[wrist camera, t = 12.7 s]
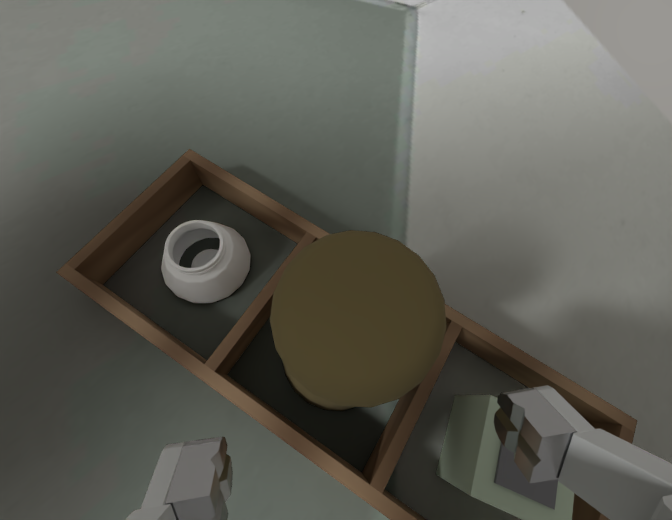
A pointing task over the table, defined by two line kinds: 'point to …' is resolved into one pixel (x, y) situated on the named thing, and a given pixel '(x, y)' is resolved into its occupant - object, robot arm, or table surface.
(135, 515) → the robot arm
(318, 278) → the cork
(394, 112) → the table surface
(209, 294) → the lidless jar
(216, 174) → the organiser
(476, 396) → the cube with grey panel
